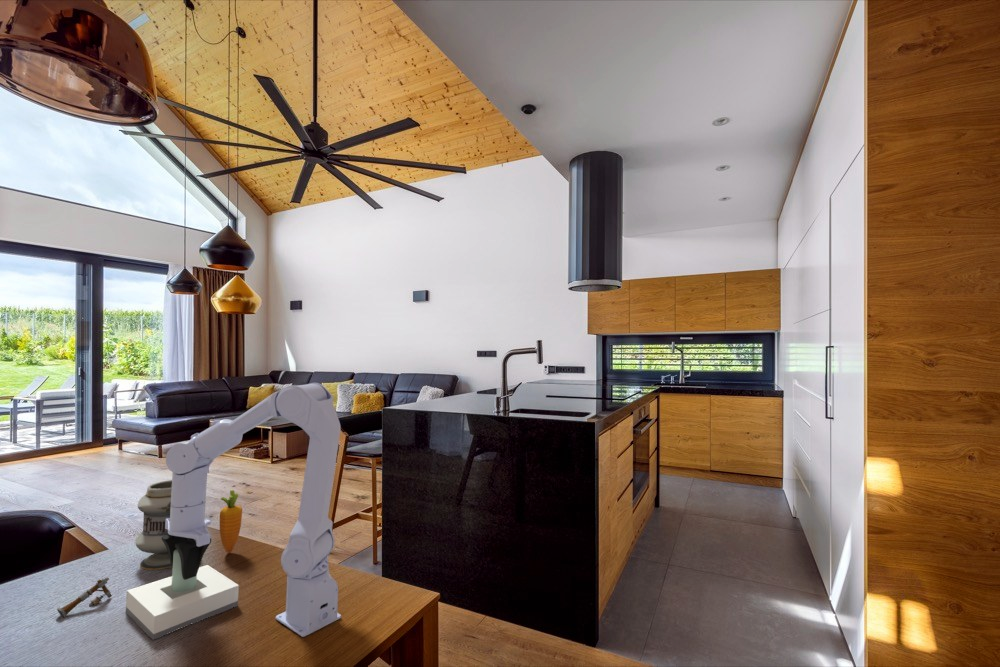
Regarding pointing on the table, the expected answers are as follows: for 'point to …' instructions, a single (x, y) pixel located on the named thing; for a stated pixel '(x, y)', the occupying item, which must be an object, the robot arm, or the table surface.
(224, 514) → the carrot
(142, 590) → the socket block
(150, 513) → the apothecary jar
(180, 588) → the peg
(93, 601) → the wooden post with brackets
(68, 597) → the table surface
